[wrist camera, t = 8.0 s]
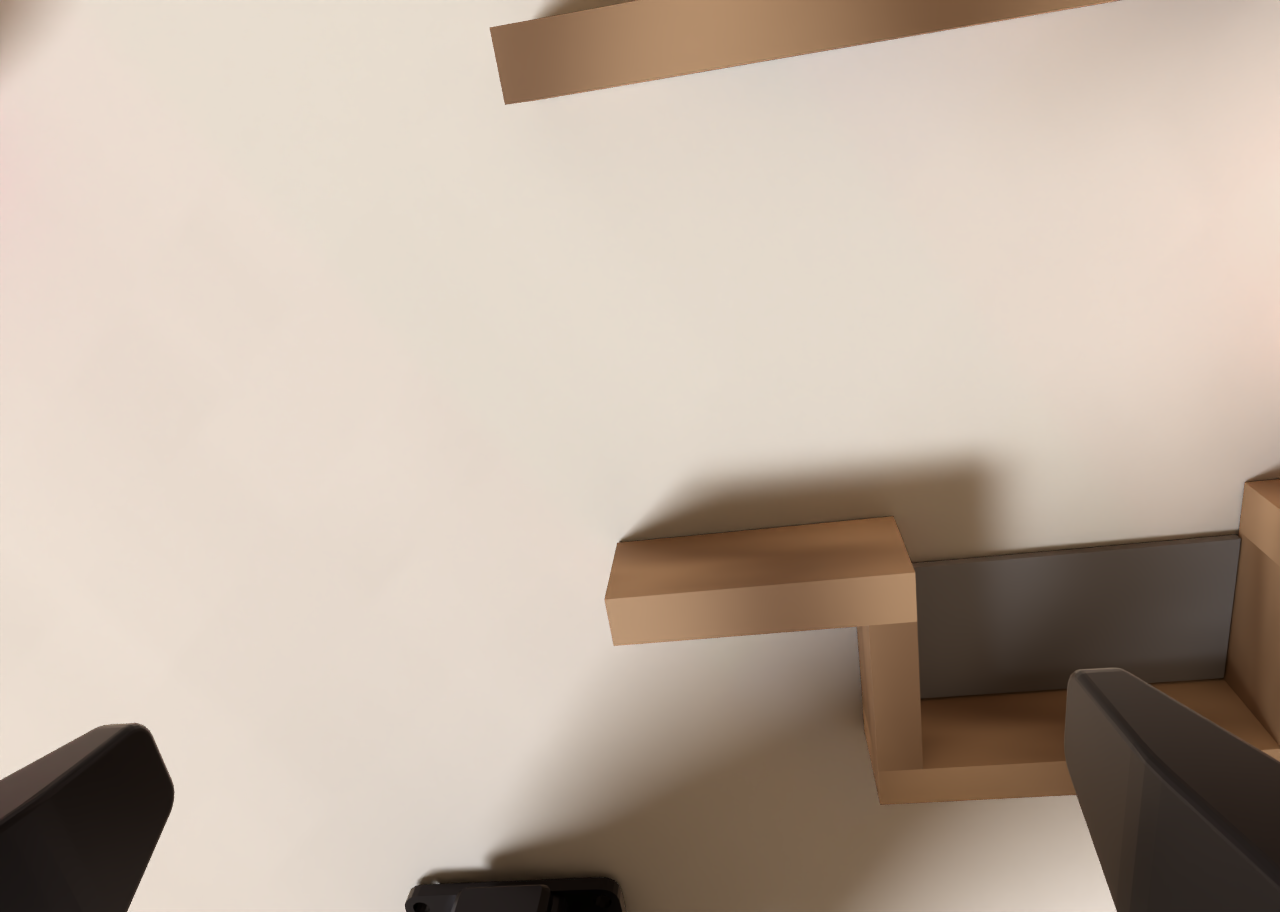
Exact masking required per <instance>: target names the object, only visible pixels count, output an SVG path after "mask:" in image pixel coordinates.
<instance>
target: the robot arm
mask: <svg viewBox="0 0 1280 912" xmlns="http://www.w3.org/2000/svg"><path fill="white" fill-rule="evenodd" d="M1064 753H1065V759H1066V764H1067V768H1068V771H1069V774H1070V777H1071V780H1072V783H1073V786H1074V789H1075V792H1076V795H1077V797H1078V800H1079V803H1080V806H1081V809H1082V812H1083V815H1084V818H1085V821H1086V823H1087V826H1088V829H1089V832H1090V835H1091V838H1092V841H1093V844H1094V847H1095V849H1096V852H1097V855H1098V858H1099V861H1100V864H1101V867H1102V870H1103V873H1104V875H1105V878H1106V881H1107V884H1108V887H1109V890H1110V893H1111V896H1112V899H1113V901H1114V904H1115V907H1116V910H1117V912H1280V761H1278V760H1277V759H1275V758H1273V757H1272V756H1270V755H1268V754H1267V753H1265V752H1263V751H1261V750H1260V749H1258V748H1256V747H1255V746H1253V745H1251V744H1250V743H1248V742H1246V741H1245V740H1243V739H1241V738H1239V737H1238V736H1236V735H1234V734H1233V733H1231V732H1229V731H1228V730H1226V729H1224V728H1223V727H1221V726H1219V725H1218V724H1216V723H1214V722H1212V721H1211V720H1209V719H1207V718H1206V717H1204V716H1202V715H1201V714H1199V713H1197V712H1196V711H1194V710H1192V709H1190V708H1189V707H1187V706H1185V705H1184V704H1182V703H1180V702H1179V701H1177V700H1175V699H1174V698H1172V697H1170V696H1169V695H1167V694H1165V693H1163V692H1162V691H1160V690H1158V689H1157V688H1155V687H1153V686H1152V685H1150V684H1148V683H1147V682H1145V681H1143V680H1141V679H1140V678H1138V677H1136V676H1135V675H1133V674H1131V673H1130V672H1128V671H1126V670H1124V669H1121V668H1096V669H1079V670H1076V671H1075V672H1073V673H1072V674H1071V675H1070V678H1069V680H1068V685H1067V699H1066V716H1065V732H1064ZM173 802H174V785H173V782H172V779H171V777H170V775H169V772H168V770H167V768H166V766H165V763H164V761H163V759H162V756H161V754H160V752H159V749H158V747H157V745H156V743H155V740H154V738H153V736H152V734H151V732H150V731H149V730H148V729H147V728H146V727H145V726H144V725H141V724H138V723H128V724H110V725H103V726H100V727H97V728H95V729H93V730H91V731H89V732H88V733H86V734H84V735H82V736H80V737H79V738H77V739H75V740H73V741H71V742H69V743H68V744H66V745H64V746H62V747H60V748H58V749H57V750H55V751H53V752H51V753H49V754H47V755H46V756H44V757H42V758H40V759H38V760H36V761H35V762H33V763H31V764H29V765H27V766H25V767H24V768H22V769H20V770H18V771H16V772H15V773H13V774H11V775H9V776H7V777H5V778H4V779H2V780H0V912H127V911H128V908H129V906H130V904H131V902H132V899H133V897H134V895H135V892H136V890H137V888H138V886H139V883H140V881H141V879H142V876H143V874H144V872H145V870H146V867H147V865H148V863H149V860H150V858H151V856H152V854H153V851H154V849H155V847H156V844H157V842H158V840H159V838H160V835H161V833H162V831H163V828H164V826H165V824H166V822H167V819H168V817H169V815H170V812H171V810H172V807H173ZM601 895H604V896H601ZM405 909H406V912H626V908H625V903H624V899H623V895H622V890H621V888H620V886H619V884H618V883H617V882H615V881H614V880H612V879H609V878H603V877H598V878H574V879H550V880H526V881H502V882H478V883H454V884H430V885H418V886H415V887H413V888H412V889H411V891H410V893H409V895H408V898H407V900H406V903H405Z"/></svg>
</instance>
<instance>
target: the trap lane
mask: <svg viewBox="0 0 1280 912" xmlns="http://www.w3.org/2000/svg"><path fill="white" fill-rule="evenodd" d="M1114 1H1120V0H637V1H631V2H626V3H621V4H615V5H610V6H604V7H599V8H594V9H588V10H583V11H577V12H572V13H566V14H561V15H556V16H550V17H545V18H539V19H534V20H528V21H523V22H518V23H512V24H507V25H501V26H496V27H491V28H490V32H491V37H492V42H493V47H494V52H495V57H496V62H497V67H498V72H499V77H500V82H501V87H502V92H503V97H504V102H505V105H506V104H513V103H521V102H528V101H535V100H541V99H547V98H553V97H558V96H564V95H570V94H576V93H582V92H588V91H594V90H599V89H605V88H611V87H617V86H623V85H629V84H634V83H640V82H646V81H652V80H658V79H664V78H670V77H675V76H681V75H687V74H693V73H699V72H705V71H710V70H716V69H722V68H728V67H734V66H740V65H746V64H751V63H757V62H763V61H769V60H775V59H781V58H786V57H792V56H798V55H804V54H810V53H816V52H822V51H827V50H833V49H839V48H845V47H851V46H857V45H862V44H868V43H874V42H880V41H886V40H892V39H898V38H903V37H909V36H915V35H921V34H927V33H933V32H938V31H944V30H950V29H956V28H962V27H968V26H974V25H979V24H985V23H991V22H997V21H1003V20H1009V19H1014V18H1020V17H1026V16H1032V15H1038V14H1044V13H1050V12H1055V11H1061V10H1067V9H1073V8H1079V7H1085V6H1090V5H1096V4H1102V3H1108V2H1114ZM605 604H606V609H607V614H608V619H609V624H610V629H611V634H612V639H613V644H614V646H618V645H630V644H643V643H655V642H668V641H681V640H693V639H706V638H718V637H731V636H743V635H756V634H769V633H781V632H794V631H806V630H819V629H831V628H844V627H857V634H858V648H859V662H860V676H861V690H862V704H863V718H864V731H865V736H866V741H867V745H868V750H869V755H870V759H871V764H872V768H873V773H874V778H875V782H876V787H877V792H878V796H879V801H880V805H886V804H905V803H925V802H944V801H964V800H983V799H1003V798H1022V797H1042V796H1061V795H1076V792H1075V789H1074V786H1073V783H1072V780H1071V777H1070V774H1069V771H1068V768H1067V764H1066V759H1065V753H1064V732H1065V716H1066V699H1067V685H1068V680H1069V678H1070V675H1071V674H1072V673H1073V672H1075V671H1076V670H1079V669H1096V668H1121V669H1124V670H1126V671H1128V672H1130V673H1131V674H1133V675H1135V676H1136V677H1138V678H1140V679H1141V680H1143V681H1145V682H1147V683H1148V684H1150V685H1152V686H1153V687H1155V688H1157V689H1158V690H1160V691H1162V692H1163V693H1165V694H1167V695H1169V696H1170V697H1172V698H1174V699H1175V700H1177V701H1179V702H1180V703H1182V704H1184V705H1185V706H1187V707H1189V708H1190V709H1192V710H1194V711H1196V712H1197V713H1199V714H1201V715H1202V716H1204V717H1206V718H1207V719H1209V720H1211V721H1212V722H1214V723H1216V724H1218V725H1219V726H1221V727H1223V728H1224V729H1226V730H1228V731H1229V732H1231V733H1233V734H1234V735H1236V736H1238V737H1239V738H1241V739H1243V740H1245V741H1246V742H1248V743H1250V744H1251V745H1253V746H1255V747H1256V748H1258V749H1260V750H1261V751H1263V752H1265V753H1267V754H1268V755H1270V756H1272V757H1273V758H1275V759H1277V760H1278V761H1280V479H1274V480H1264V481H1253V482H1245V485H1244V493H1243V501H1242V510H1241V518H1240V526H1239V534H1238V536H1237V535H1226V536H1215V537H1204V538H1193V539H1181V540H1170V541H1159V542H1147V543H1136V544H1125V545H1114V546H1102V547H1091V548H1080V549H1069V550H1057V551H1046V552H1035V553H1023V554H1012V555H1001V556H990V557H978V558H967V559H956V560H945V561H933V562H922V563H911V560H910V558H909V555H908V552H907V550H906V547H905V545H904V542H903V539H902V537H901V534H900V532H899V529H898V527H897V524H896V521H895V519H894V516H890V517H880V518H870V519H859V520H849V521H838V522H828V523H818V524H807V525H797V526H787V527H776V528H766V529H755V530H745V531H735V532H724V533H714V534H704V535H693V536H683V537H672V538H662V539H652V540H641V541H631V542H621V543H617V546H616V551H615V555H614V560H613V564H612V569H611V573H610V578H609V582H608V586H607V591H606V595H605Z"/></svg>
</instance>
